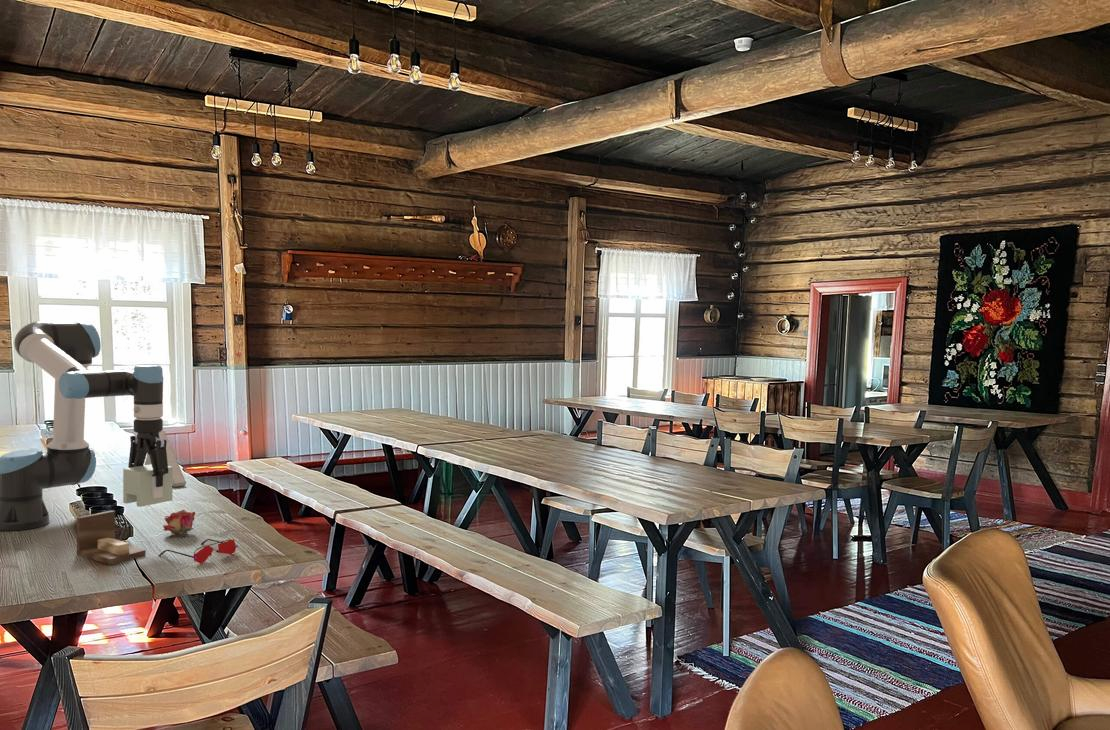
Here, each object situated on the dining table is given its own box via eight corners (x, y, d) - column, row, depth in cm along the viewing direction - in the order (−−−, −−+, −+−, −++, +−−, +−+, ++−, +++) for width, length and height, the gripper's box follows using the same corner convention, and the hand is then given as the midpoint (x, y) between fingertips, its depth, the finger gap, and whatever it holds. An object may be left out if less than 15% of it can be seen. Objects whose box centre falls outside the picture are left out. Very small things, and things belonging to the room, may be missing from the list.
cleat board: (76, 554, 218) (76, 517, 217) (112, 545, 227) (112, 510, 226) (110, 564, 210) (110, 526, 210) (145, 555, 219) (145, 518, 218)
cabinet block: (140, 506, 221) (140, 472, 220) (123, 502, 225) (123, 468, 224) (176, 499, 231) (176, 466, 230) (160, 495, 235) (160, 462, 234)
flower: (205, 530, 240) (200, 506, 243) (178, 530, 232) (173, 506, 235) (186, 543, 243) (181, 520, 246) (158, 544, 235) (154, 520, 238)
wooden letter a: (163, 522, 312) (143, 470, 329) (174, 521, 315) (154, 469, 332) (174, 483, 302) (153, 431, 318) (186, 482, 305) (164, 431, 322)
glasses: (195, 567, 211) (195, 549, 211) (157, 556, 219) (157, 539, 219) (238, 554, 223) (238, 537, 223) (201, 545, 231) (201, 528, 231)
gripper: (114, 416, 228) (114, 492, 229) (158, 422, 217) (158, 503, 219) (138, 413, 234) (138, 488, 236) (182, 420, 224) (182, 498, 225)
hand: (148, 495), depth 227 cm, fingers closed on cabinet block, 8 cm apart
